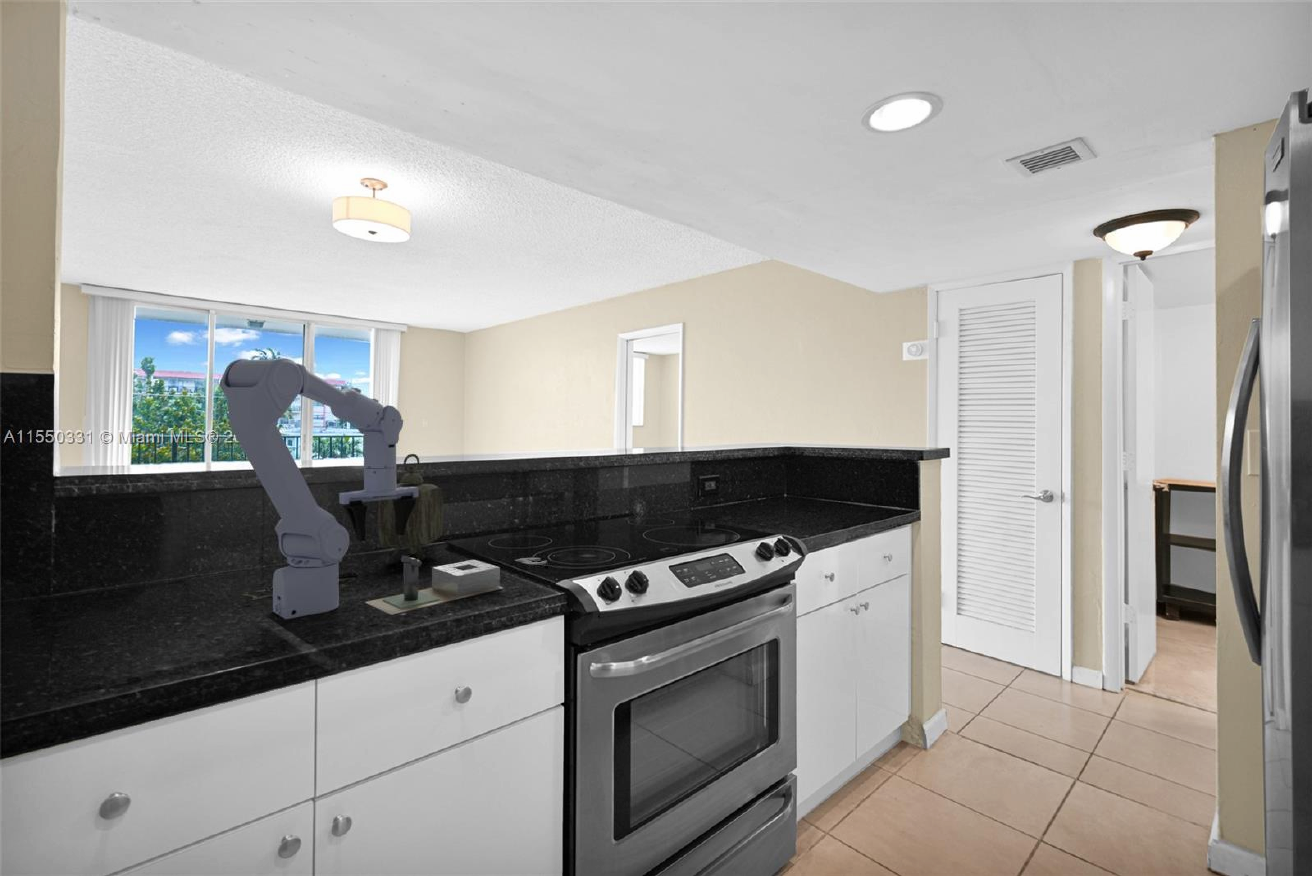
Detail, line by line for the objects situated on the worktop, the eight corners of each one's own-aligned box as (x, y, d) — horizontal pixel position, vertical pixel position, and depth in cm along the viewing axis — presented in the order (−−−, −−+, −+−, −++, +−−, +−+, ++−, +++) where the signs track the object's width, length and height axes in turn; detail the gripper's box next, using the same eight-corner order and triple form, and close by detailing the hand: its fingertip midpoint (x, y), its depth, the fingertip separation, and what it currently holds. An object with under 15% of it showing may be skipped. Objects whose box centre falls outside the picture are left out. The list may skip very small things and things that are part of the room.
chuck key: (413, 604, 107) (413, 561, 107) (397, 597, 111) (397, 556, 111) (426, 601, 109) (426, 559, 109) (410, 594, 113) (410, 554, 112)
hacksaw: (356, 575, 133) (356, 568, 133) (376, 584, 126) (376, 577, 126) (221, 598, 115) (221, 590, 115) (235, 610, 108) (235, 602, 108)
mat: (401, 609, 105) (401, 607, 105) (382, 600, 110) (382, 599, 110) (439, 600, 110) (439, 598, 110) (419, 592, 115) (419, 591, 115)
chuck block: (457, 597, 112) (457, 576, 112) (432, 588, 118) (432, 567, 118) (499, 587, 119) (499, 567, 119) (473, 579, 125) (473, 559, 125)
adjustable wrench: (428, 576, 134) (428, 568, 134) (432, 569, 140) (432, 561, 140) (546, 570, 139) (546, 562, 139) (545, 563, 145) (545, 556, 145)
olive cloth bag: (410, 552, 154) (410, 452, 153) (445, 553, 153) (445, 452, 152) (378, 566, 139) (377, 455, 138) (416, 567, 138) (416, 456, 138)
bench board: (391, 621, 102) (391, 614, 102) (364, 608, 109) (364, 602, 109) (503, 594, 119) (503, 587, 119) (474, 584, 125) (474, 578, 125)
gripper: (350, 471, 111) (351, 546, 112) (426, 466, 122) (426, 534, 123) (334, 468, 116) (335, 540, 116) (408, 464, 127) (409, 530, 127)
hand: (380, 537), depth 120 cm, fingers open, 7 cm apart
